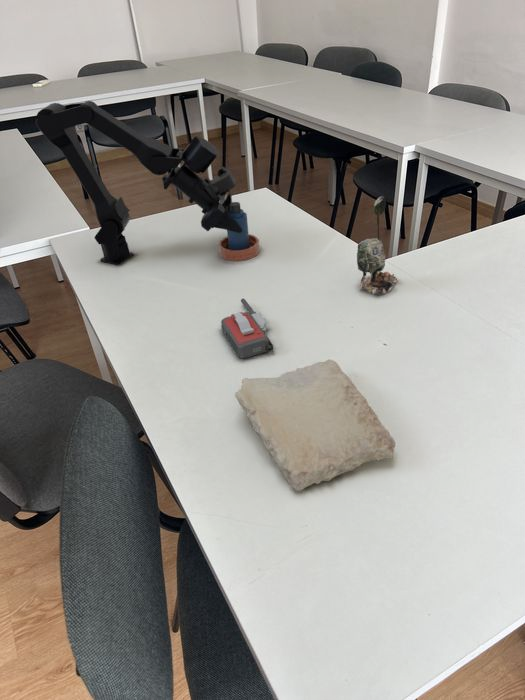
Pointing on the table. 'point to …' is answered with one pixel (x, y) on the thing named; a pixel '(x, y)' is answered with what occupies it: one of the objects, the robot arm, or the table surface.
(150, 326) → the table surface
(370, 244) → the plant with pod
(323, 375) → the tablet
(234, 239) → the blue bottle
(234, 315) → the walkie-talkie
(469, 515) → the table surface
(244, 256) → the dish
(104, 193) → the robot arm
